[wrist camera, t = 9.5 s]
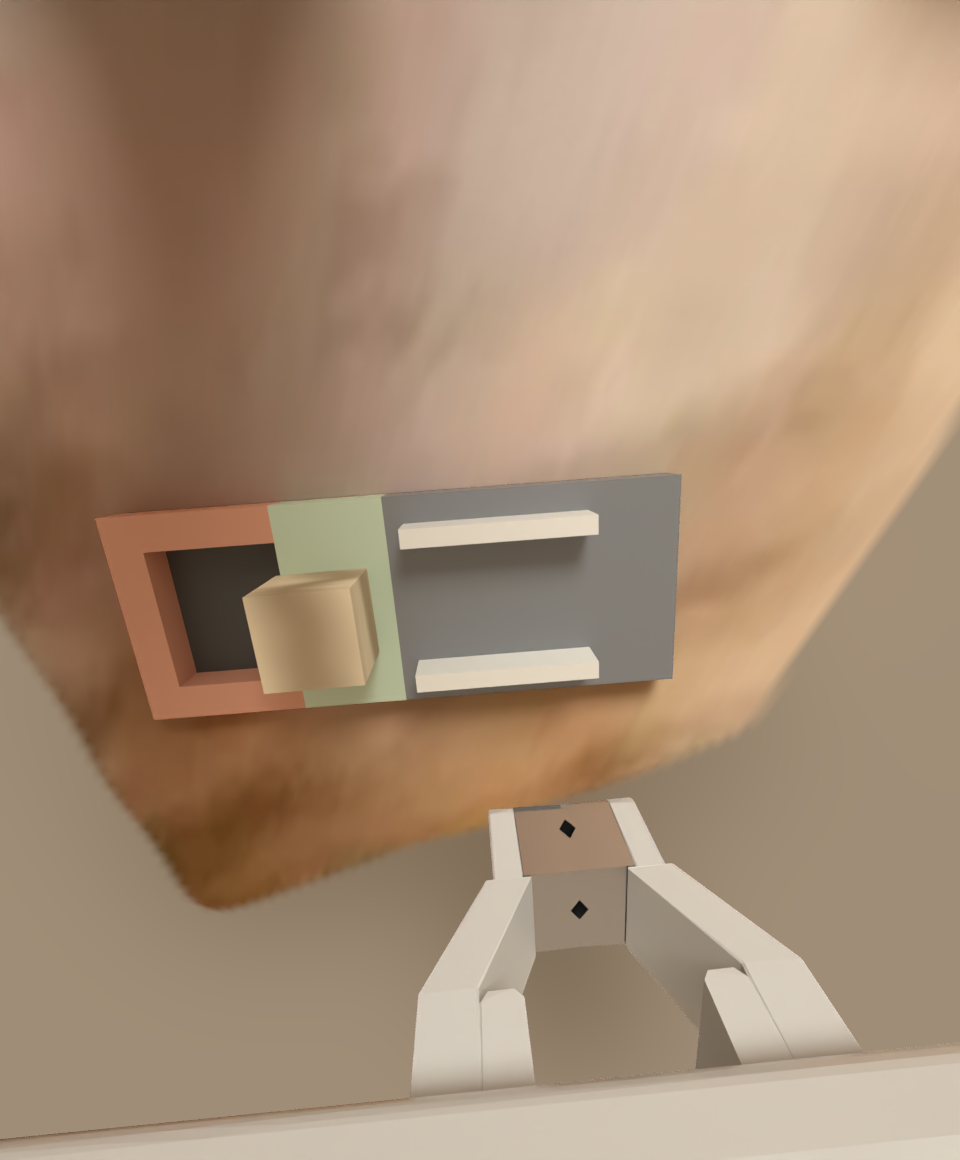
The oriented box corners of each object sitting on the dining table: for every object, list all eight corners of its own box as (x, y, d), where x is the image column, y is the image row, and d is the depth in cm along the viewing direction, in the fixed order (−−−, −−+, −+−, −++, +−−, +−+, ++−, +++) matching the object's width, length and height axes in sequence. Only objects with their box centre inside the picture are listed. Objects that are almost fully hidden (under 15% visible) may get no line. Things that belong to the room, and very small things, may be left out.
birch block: (367, 567, 25) (349, 588, 22) (379, 651, 27) (365, 685, 23) (275, 575, 25) (242, 597, 22) (292, 659, 27) (264, 694, 23)
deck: (665, 472, 27) (681, 474, 25) (659, 663, 30) (672, 678, 28) (121, 513, 26) (94, 518, 24) (174, 702, 29) (153, 720, 27)
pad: (386, 493, 26) (380, 497, 24) (410, 683, 30) (406, 699, 28) (281, 501, 26) (267, 505, 24) (316, 691, 30) (305, 707, 28)
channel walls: (588, 509, 25) (598, 514, 23) (589, 662, 27) (599, 678, 25) (402, 523, 25) (397, 529, 23) (420, 675, 27) (417, 692, 25)
